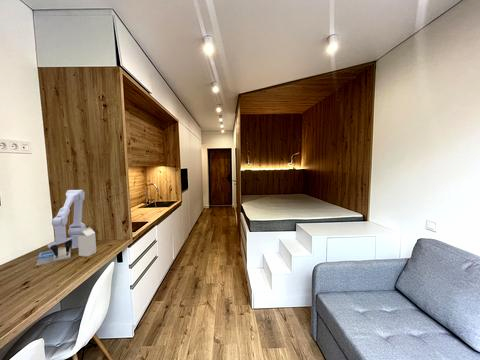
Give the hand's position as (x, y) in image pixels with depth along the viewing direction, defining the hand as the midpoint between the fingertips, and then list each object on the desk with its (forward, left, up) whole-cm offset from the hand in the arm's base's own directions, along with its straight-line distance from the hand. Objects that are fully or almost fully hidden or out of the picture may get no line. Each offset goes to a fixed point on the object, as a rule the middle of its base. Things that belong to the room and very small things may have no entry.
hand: (62, 253), depth 143 cm
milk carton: (-14, +5, -3) cm, 15 cm away
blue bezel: (+8, -10, -3) cm, 13 cm away
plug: (0, 0, -2) cm, 2 cm away
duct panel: (+4, -5, -3) cm, 7 cm away
